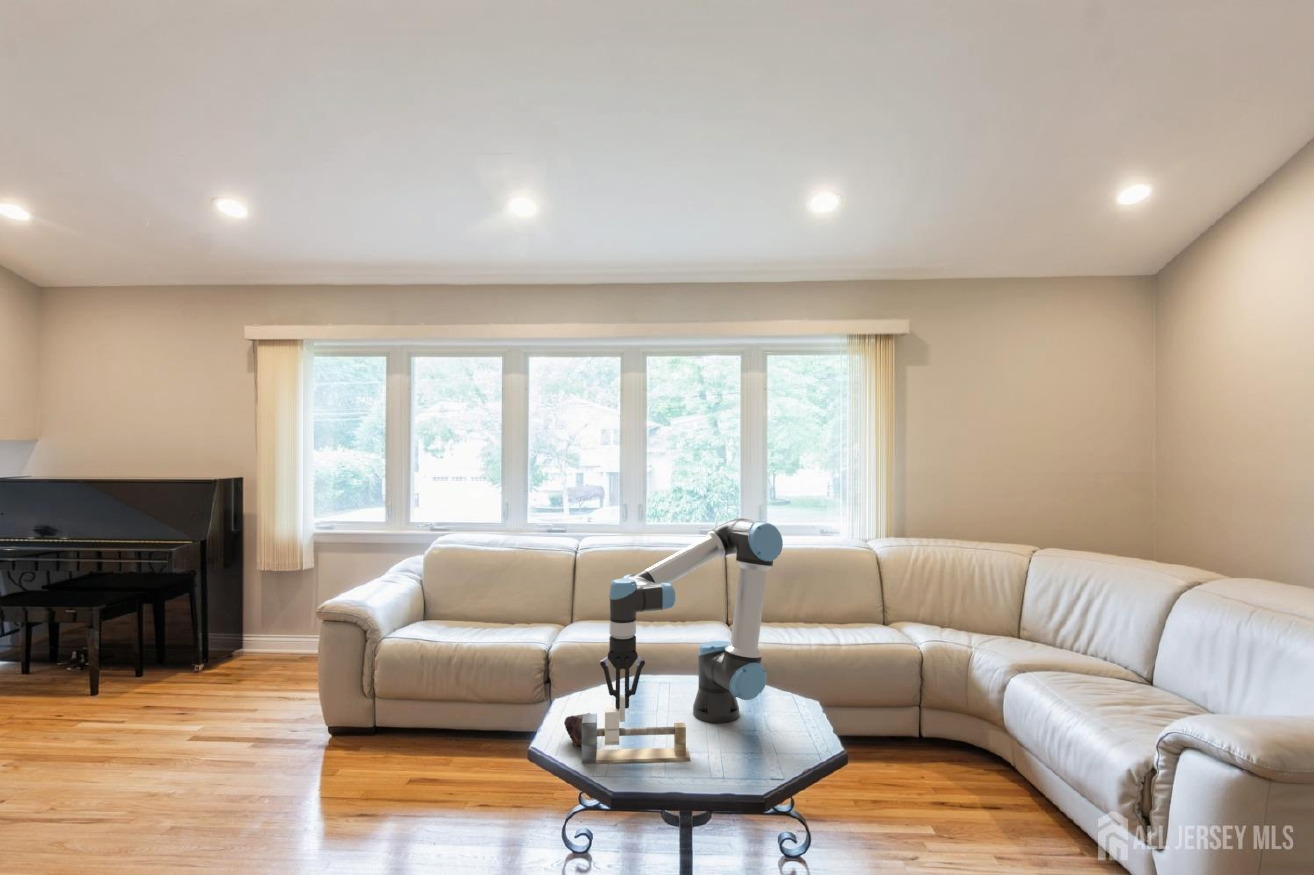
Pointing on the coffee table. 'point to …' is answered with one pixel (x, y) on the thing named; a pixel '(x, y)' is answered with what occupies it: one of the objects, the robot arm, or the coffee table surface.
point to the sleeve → (611, 725)
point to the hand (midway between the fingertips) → (622, 719)
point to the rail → (632, 755)
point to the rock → (574, 728)
